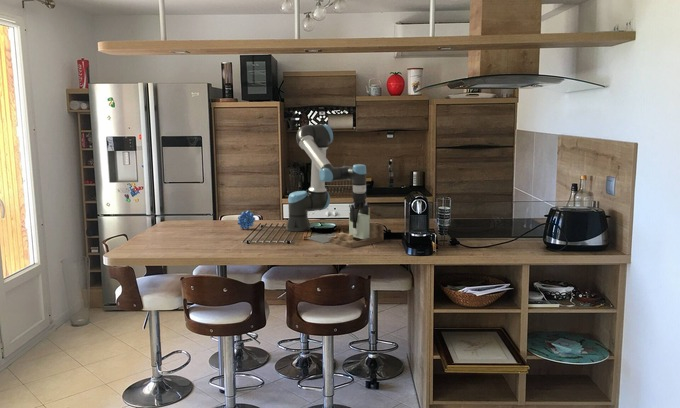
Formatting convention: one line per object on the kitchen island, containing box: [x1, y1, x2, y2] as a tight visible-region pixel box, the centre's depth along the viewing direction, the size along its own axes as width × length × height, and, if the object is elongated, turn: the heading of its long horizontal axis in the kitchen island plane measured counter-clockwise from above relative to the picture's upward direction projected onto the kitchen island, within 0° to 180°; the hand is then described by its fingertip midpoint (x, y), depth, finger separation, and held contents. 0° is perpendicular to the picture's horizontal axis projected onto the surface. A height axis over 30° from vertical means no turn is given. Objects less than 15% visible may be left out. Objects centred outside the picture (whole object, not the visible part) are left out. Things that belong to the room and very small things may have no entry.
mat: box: [305, 234, 333, 244], centre depth 322 cm, size 16×12×1 cm
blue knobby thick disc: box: [237, 209, 256, 230], centre depth 352 cm, size 12×7×12 cm, turn 79°
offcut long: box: [337, 238, 357, 243], centre depth 311 cm, size 12×3×3 cm, turn 44°
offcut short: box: [337, 232, 354, 241], centre depth 310 cm, size 8×3×3 cm, turn 52°
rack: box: [328, 221, 384, 249], centre depth 315 cm, size 18×25×9 cm
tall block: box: [348, 212, 371, 240], centre depth 316 cm, size 12×4×13 cm, turn 40°
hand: (359, 232), depth 317 cm, fingers closed on tall block, 4 cm apart
